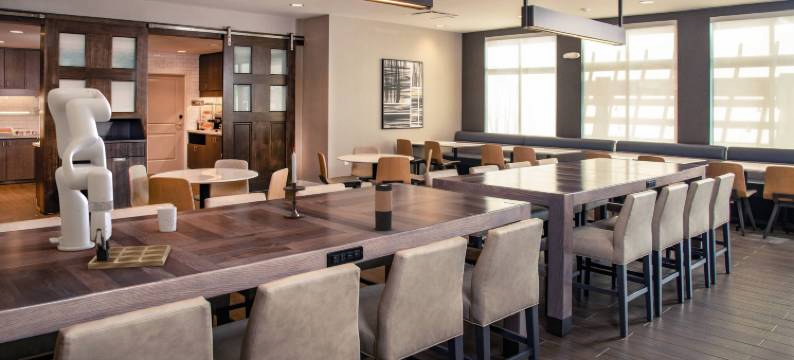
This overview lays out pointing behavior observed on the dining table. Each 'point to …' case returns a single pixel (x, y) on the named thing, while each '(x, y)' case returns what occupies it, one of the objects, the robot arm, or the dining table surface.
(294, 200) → the candlestick
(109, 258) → the metal cylinder
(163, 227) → the white cup
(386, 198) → the travel mug
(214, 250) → the dining table surface
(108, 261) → the board
